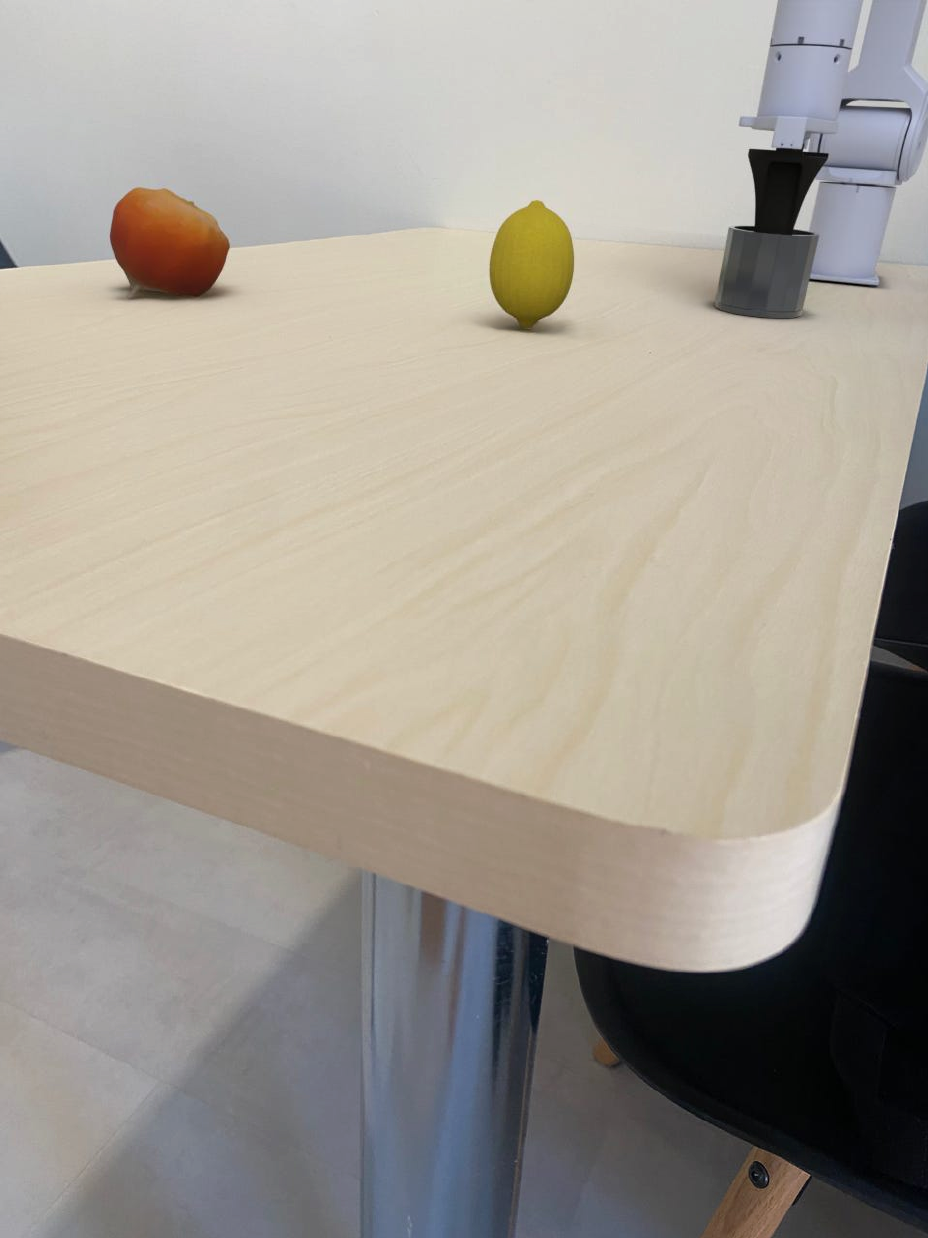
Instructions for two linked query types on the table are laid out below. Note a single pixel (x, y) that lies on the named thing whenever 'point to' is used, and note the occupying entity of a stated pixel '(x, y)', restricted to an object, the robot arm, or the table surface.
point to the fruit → (167, 243)
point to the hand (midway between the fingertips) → (769, 252)
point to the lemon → (532, 264)
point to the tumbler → (765, 272)
